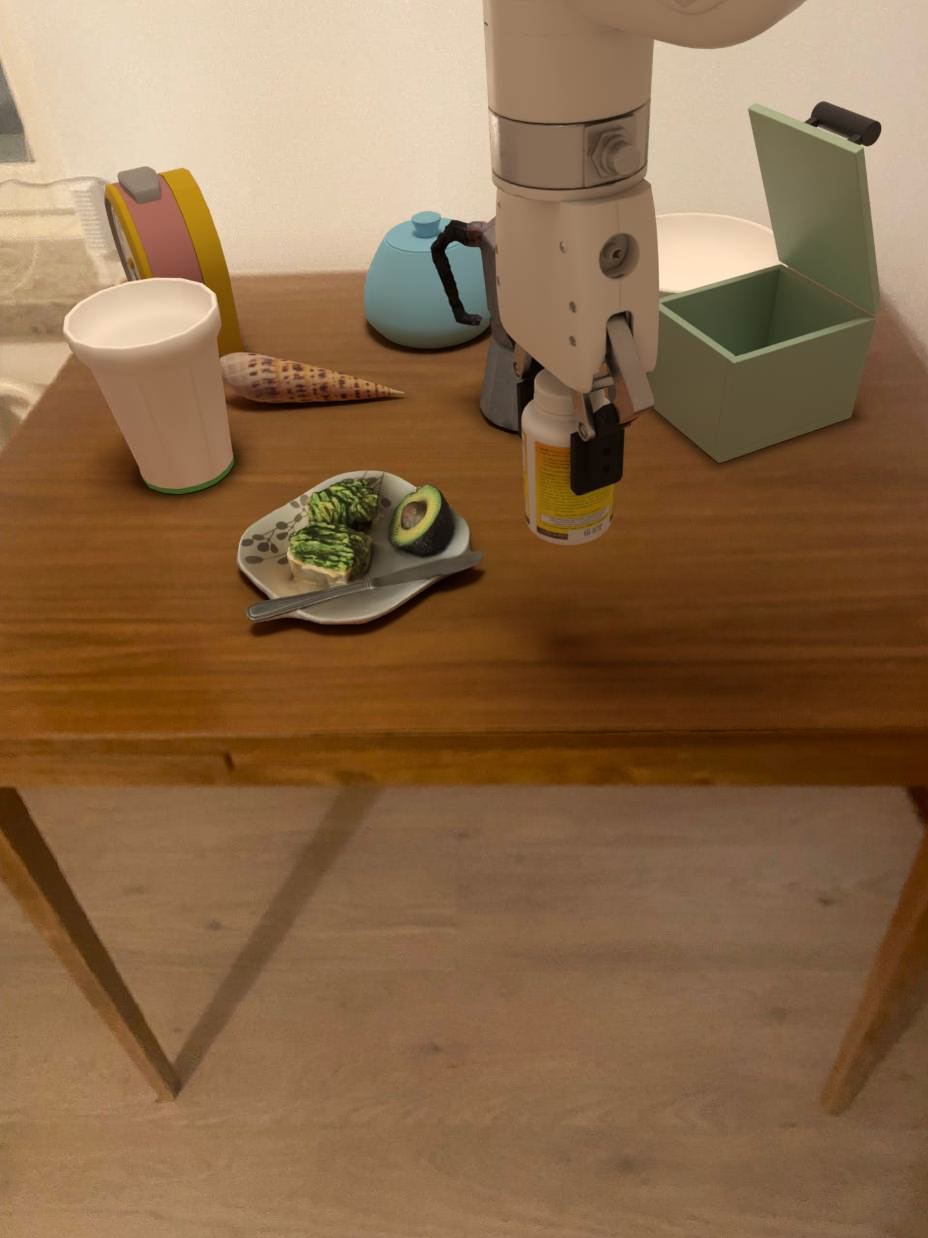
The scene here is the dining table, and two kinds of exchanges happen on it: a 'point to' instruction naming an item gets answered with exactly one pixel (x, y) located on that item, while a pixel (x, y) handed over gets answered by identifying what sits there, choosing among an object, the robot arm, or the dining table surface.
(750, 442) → the green hinged box
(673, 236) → the bowl
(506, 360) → the moka pot
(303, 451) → the dining table surface
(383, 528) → the avocado toast plate
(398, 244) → the sugar bowl
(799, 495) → the dining table surface
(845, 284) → the box lid
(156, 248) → the alarm clock
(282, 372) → the seashell
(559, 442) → the supplement bottle
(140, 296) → the cup
